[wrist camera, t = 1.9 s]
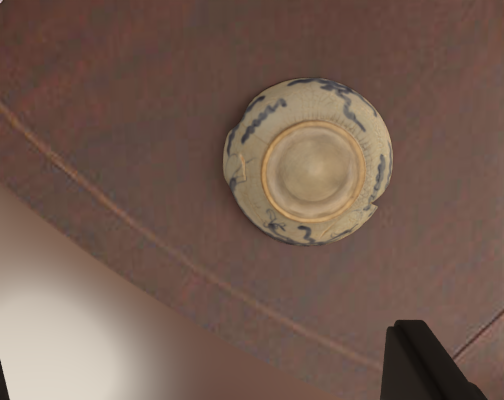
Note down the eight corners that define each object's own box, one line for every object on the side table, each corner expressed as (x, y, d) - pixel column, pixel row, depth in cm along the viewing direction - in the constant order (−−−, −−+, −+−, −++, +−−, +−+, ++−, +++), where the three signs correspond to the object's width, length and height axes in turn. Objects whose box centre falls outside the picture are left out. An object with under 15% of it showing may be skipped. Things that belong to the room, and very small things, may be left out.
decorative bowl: (227, 72, 31) (219, 240, 34) (223, 68, 27) (215, 255, 31) (404, 84, 31) (378, 250, 35) (423, 81, 27) (392, 266, 31)
